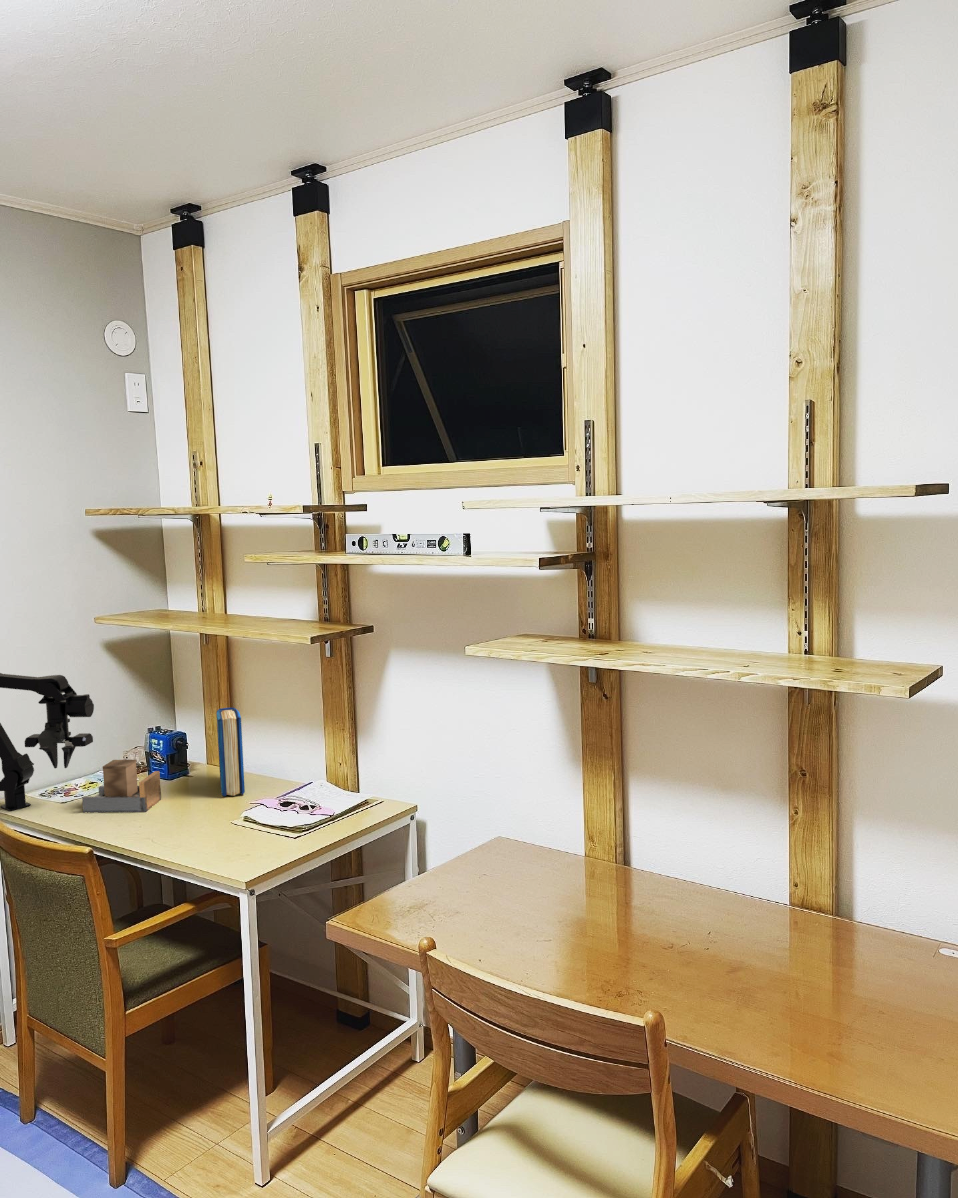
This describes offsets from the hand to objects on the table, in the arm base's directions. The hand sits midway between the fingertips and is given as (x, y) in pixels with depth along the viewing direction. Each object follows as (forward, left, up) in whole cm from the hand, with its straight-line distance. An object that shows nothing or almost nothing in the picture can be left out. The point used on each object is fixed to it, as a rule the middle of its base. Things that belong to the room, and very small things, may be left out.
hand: (60, 768), depth 290 cm
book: (+28, +41, -12) cm, 51 cm away
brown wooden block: (+14, +11, -9) cm, 20 cm away
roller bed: (+15, +10, -12) cm, 22 cm away
